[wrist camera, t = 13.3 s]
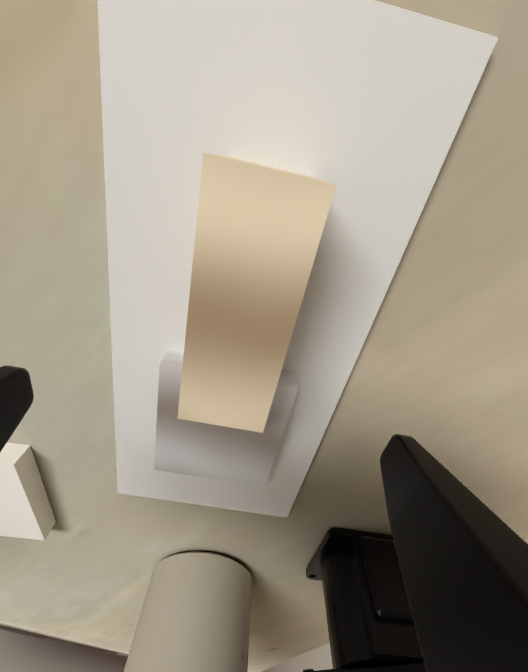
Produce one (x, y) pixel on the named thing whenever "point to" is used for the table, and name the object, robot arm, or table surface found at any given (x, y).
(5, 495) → the tile
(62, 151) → the table surface
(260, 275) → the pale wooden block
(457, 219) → the table surface
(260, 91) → the mat
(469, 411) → the table surface
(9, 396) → the robot arm
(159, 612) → the travel mug
